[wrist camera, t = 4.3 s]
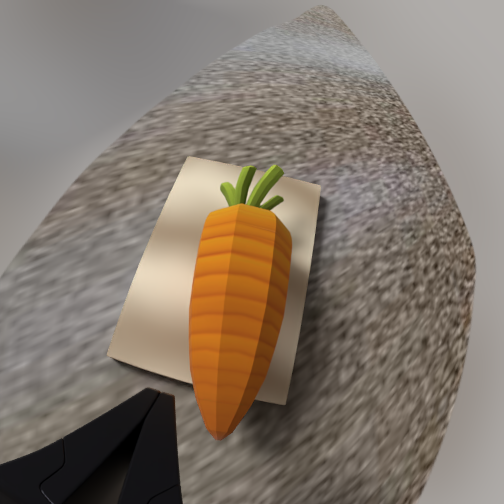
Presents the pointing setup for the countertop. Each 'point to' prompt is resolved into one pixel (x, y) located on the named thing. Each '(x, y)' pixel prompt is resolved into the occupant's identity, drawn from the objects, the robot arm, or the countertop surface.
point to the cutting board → (182, 271)
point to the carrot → (237, 300)
